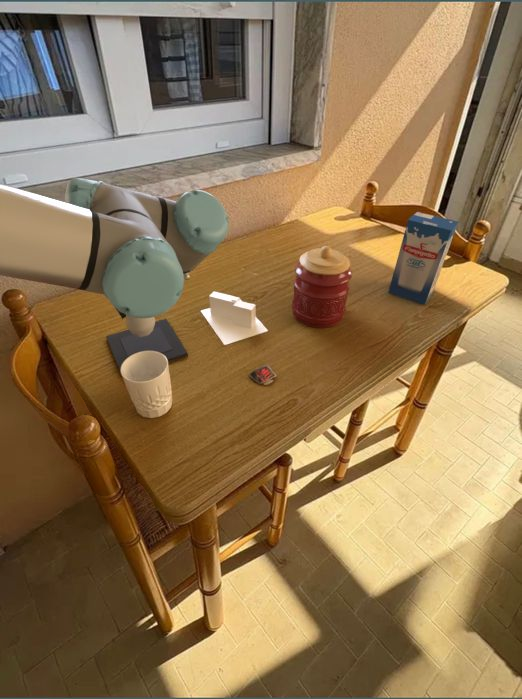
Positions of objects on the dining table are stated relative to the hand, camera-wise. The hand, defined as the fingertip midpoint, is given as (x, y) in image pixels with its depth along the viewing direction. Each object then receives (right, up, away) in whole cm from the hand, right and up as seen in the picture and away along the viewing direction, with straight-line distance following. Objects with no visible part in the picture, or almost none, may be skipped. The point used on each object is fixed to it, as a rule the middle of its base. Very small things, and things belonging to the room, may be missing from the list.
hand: (127, 308), depth 80 cm
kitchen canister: (+42, 0, +15) cm, 44 cm away
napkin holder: (+21, -2, +12) cm, 24 cm away
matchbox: (+29, -14, -3) cm, 32 cm away
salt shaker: (+3, -5, +1) cm, 6 cm away
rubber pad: (+3, -8, +4) cm, 9 cm away
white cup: (+8, -19, -8) cm, 22 cm away
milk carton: (+68, +6, +22) cm, 72 cm away
